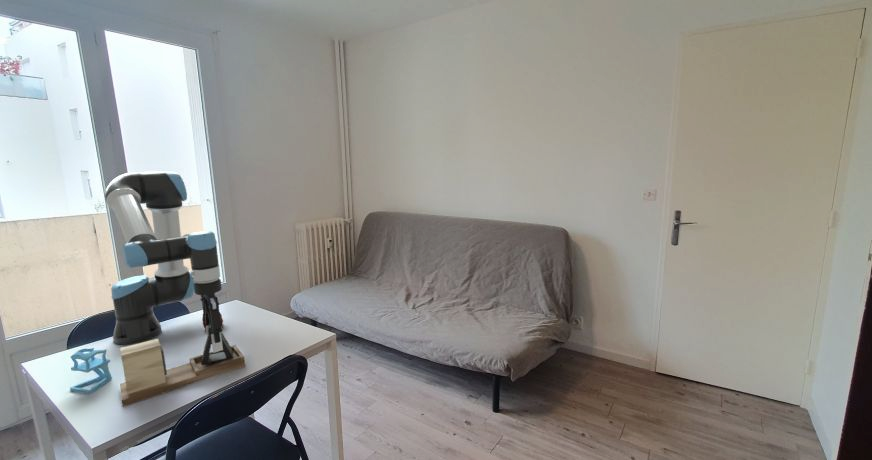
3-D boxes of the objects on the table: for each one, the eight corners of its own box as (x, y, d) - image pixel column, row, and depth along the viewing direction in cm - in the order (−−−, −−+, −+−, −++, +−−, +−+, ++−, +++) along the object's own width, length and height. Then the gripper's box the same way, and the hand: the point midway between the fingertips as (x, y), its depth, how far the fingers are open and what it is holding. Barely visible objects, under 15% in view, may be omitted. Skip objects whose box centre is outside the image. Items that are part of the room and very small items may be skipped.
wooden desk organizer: (120, 389, 115) (119, 379, 115) (236, 354, 136) (235, 345, 135) (122, 406, 107) (120, 395, 106) (245, 366, 128) (244, 356, 127)
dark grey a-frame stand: (201, 365, 122) (196, 329, 120) (202, 357, 127) (197, 323, 125) (233, 357, 126) (228, 323, 124) (232, 350, 131) (228, 317, 129)
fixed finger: (126, 385, 114) (120, 348, 112) (165, 373, 120) (160, 337, 118) (127, 394, 109) (121, 355, 107) (168, 381, 116) (162, 344, 114)
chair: (118, 378, 121) (112, 343, 119) (89, 393, 113) (82, 356, 111) (99, 376, 123) (93, 341, 121) (69, 390, 115) (62, 353, 113)
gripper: (187, 276, 127) (196, 341, 131) (199, 289, 112) (209, 362, 116) (213, 271, 132) (221, 334, 136) (227, 284, 117) (235, 353, 121)
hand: (215, 347), depth 126 cm, fingers closed on dark grey a-frame stand, 6 cm apart
